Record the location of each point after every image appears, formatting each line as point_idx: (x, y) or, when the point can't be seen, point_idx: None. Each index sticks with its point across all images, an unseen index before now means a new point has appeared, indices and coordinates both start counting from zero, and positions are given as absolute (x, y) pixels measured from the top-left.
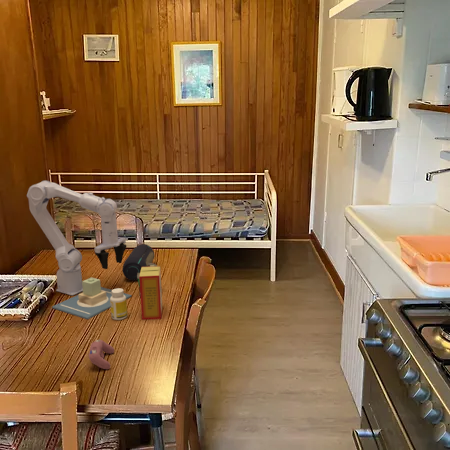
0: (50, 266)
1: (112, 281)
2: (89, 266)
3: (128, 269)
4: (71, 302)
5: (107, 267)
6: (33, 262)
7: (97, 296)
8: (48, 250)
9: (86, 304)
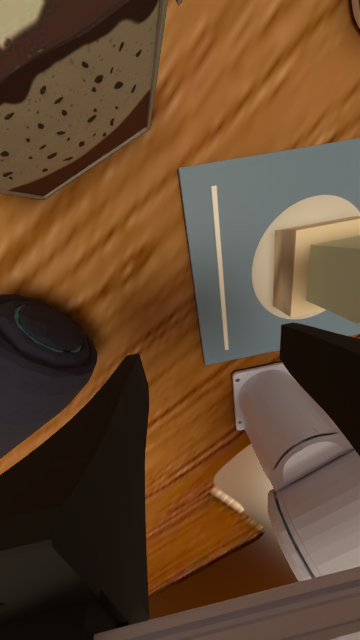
0: (189, 533)
1: None
2: None
3: (70, 347)
4: None
5: (290, 326)
6: (198, 559)
7: (348, 220)
8: None
9: None
